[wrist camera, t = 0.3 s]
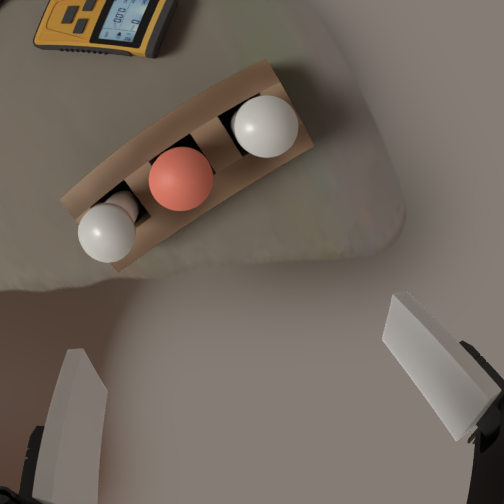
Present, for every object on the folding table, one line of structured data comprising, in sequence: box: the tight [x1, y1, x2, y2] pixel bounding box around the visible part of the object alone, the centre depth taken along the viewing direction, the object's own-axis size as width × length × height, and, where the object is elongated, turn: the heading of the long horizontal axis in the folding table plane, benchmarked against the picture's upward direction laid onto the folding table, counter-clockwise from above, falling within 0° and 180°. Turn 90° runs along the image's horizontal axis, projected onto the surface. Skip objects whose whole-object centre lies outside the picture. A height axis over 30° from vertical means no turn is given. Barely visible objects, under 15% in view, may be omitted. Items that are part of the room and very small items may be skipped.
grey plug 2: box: [230, 95, 298, 158], centre depth 24 cm, size 5×5×8 cm
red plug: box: [149, 147, 213, 211], centre depth 25 cm, size 5×5×8 cm
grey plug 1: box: [78, 190, 140, 263], centre depth 25 cm, size 5×5×8 cm
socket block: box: [60, 59, 314, 272], centre depth 29 cm, size 10×24×6 cm, turn 120°
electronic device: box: [33, 0, 178, 59], centre depth 21 cm, size 8×16×3 cm, turn 72°
